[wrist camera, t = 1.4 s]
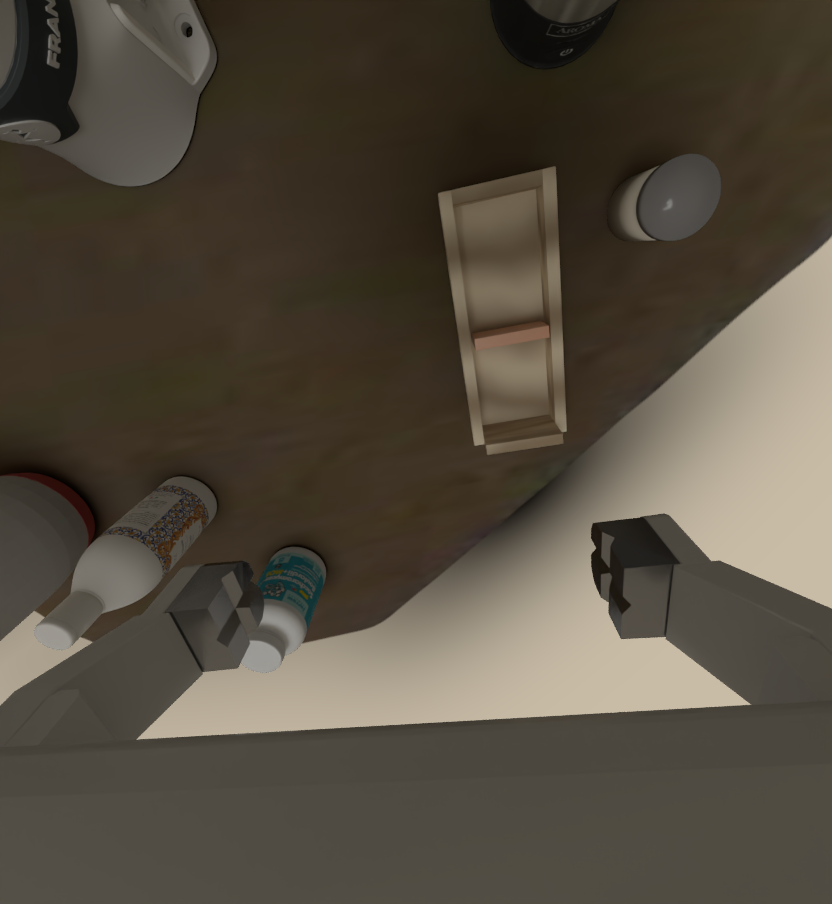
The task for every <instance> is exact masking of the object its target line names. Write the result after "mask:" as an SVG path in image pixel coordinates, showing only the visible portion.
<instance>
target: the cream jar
mask: <svg viewBox="0 0 832 904" xmlns="http://www.w3.org/2000/svg"><path fill="white" fill-rule="evenodd" d="M720 193H721V179H720V174H719V172H718V169H717V168H716V166H715V164H714V163H713V162H712V161H711V160H710V159H708V158H706V157H705V156H702V155H699V154H685V155H681V156H678V157H676V158H673V159H671V160H669V161H666V162H665V163H663V164H661V165H660V166H657V167H655V168H652V169H650V170H647V171H645V172H642V173H640V174H637V175H635V176H632V177H630V178H628V179H627V180H625V181H624V182H623V183H621V184H620V185H619V186H618V188H617V189H616V190H615V192H614V193H613V195H612V197H611V199H610V201H609V204H608V208H607V222H608V226H609V228H610V230H611V232H612V233H613V234H614V235H615V236H616V237H617V238H619V239H620V240H623V241H628V242H635V241H651V240H659V241H674V240H680V239H684V238H686V237H688V236H690V235H692V234H694V233H695V232H697V231H698V230H699V229H700V228H702V227H703V226H704V225H705V224H706V223H707V221H708V220H709V219H710V217H711V216H712V214H713V213H714V211H715V209H716V207H717V204H718V202H719V198H720Z"/></svg>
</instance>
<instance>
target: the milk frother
mask: <svg viewBox="0 0 832 904" xmlns="http://www.w3.org/2000/svg"><path fill="white" fill-rule="evenodd" d="M618 2H619V0H490V4H491V12H492V17H493V21H494V24H495V28H496V30H497V32H498V35H499V37H500V39H501V40H502V42H503V44H504V46H505V47H506V48H507V50H508V51H509V52H510V53H511V54H512V55H513V56H514V57H515V58H516V59H518V60H519V61H520V62H522V63H524V64H526V65H528V66H531V67H536V68H540V69H548V68H556V67H559V66H563V65H565V64H568V63H570V62H572V61H574V60H575V59H577V58H578V57H580V56H581V55H582V54H583V53H585V52H586V51H587V50H588V49H589V48H590V47H591V46H592V45H593V44H594V43H595V42H596V40H597V39H598V38H599V37H600V35H601V34H602V32H603V31H604V29H605V28H606V26H607V24H608V22H609V21H610V19H611V17H612V15H613V12H614V9H615V7H616V5H617V4H618Z"/></svg>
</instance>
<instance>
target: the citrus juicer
mask: <svg viewBox="0 0 832 904" xmlns="http://www.w3.org/2000/svg"><path fill="white" fill-rule="evenodd" d="M94 533H95V522H94V518H93V515H92V513H91V511H90V509H89V507H88V506H87V504H86V503H85V502H84V500H83V499H82V498H81V497H80V496H79V495H78V494H77V493H76V492H75V491H73V490H72V489H71V488H70V487H68V486H66V485H65V484H63V483H62V482H60V481H58V480H56V479H54V478H51V477H48V476H45V475H42V474H37V473H14V474H6V475H0V641H1V640H2V639H3V638H4V637H5V636H6V635H7V634H8V633H10V632H11V631H12V630H13V629H14V628H15V627H16V626H17V625H19V624H20V623H21V622H22V621H23V620H24V619H25V618H26V617H27V616H29V615H30V614H31V613H32V612H33V611H34V610H35V609H37V608H38V607H39V606H40V605H41V604H42V603H43V602H44V601H46V600H47V599H48V598H49V597H50V596H51V595H52V594H53V593H54V592H55V591H56V590H57V589H58V588H59V587H60V586H61V585H62V584H63V583H64V581H65V580H66V579H67V578H68V576H69V575H70V574H71V573H72V571H73V570H74V569H75V567H76V566H77V563H78V561H79V559H80V558H81V556H82V555H83V553H84V552H85V551H86V549H87V548H88V547H89V546H90V543H91V541H92V538H93V536H94Z"/></svg>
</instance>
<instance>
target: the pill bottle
mask: <svg viewBox="0 0 832 904" xmlns="http://www.w3.org/2000/svg"><path fill="white" fill-rule="evenodd" d="M325 579H326V568H325V565H324V563H323V561H322V560H321V558H320V557H319V556H318V555H316V554H315V553H314V552H312V551H310V550H308V549H305V548H301V547H288V548H284V549H282V550H280V551H278V552H277V553H276V554H274V556H273V557H272V558H271V560H270V562H269V563H268V565H267V567H266V569H265V570H264V572H263V574H262V576H261V578H260V579H259V581H258V583H257V586H258V587H260V589H261V592H262V594H263V599H264V612H263V618H262V620H261V622H260V624H259V626H258V628H257V629H256V630H254V631H253V632H252V633H251V634H250V635H248V638H249V641H250V645H249V647H248V649H247V651H246V653H245V655H244V657H243V659H242V661H241V664H242V665H243V666H245V667H246V668H248V669H250V670H253V671H256V672H262V673H267V672H272V671H274V670H276V669H277V668H278V667H279V666H280V665H281V663H282V661H283V658H284V656H285V655H288V654H290V653H292V652H293V651H295V650H296V649H298V647H299V646H300V645H301V644H302V642H303V640H304V638H305V635H306V633H307V630H308V627H309V624H310V621H311V619H312V616H313V613H314V610H315V607H316V605H317V602H318V599H319V596H320V593H321V591H322V588H323V585H324V582H325Z"/></svg>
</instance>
